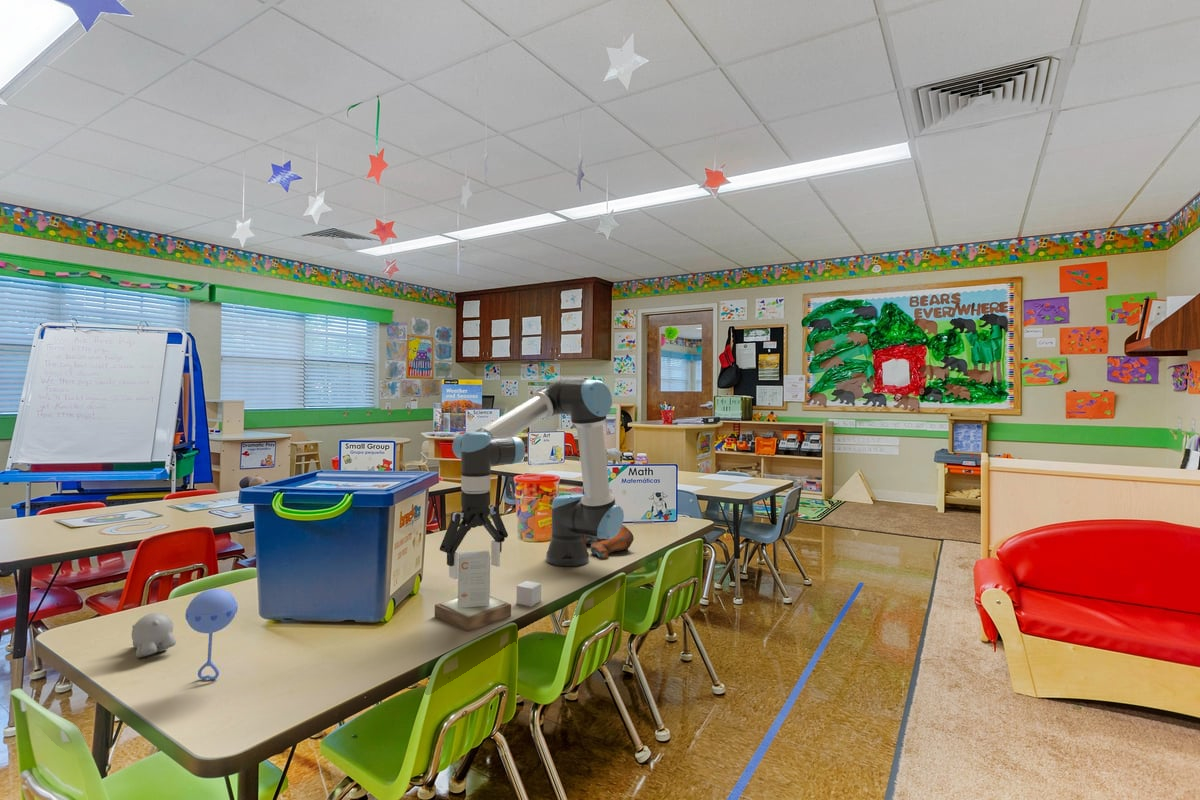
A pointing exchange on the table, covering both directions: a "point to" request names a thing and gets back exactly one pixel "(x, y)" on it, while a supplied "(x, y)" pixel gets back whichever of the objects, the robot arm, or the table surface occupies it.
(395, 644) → the table surface
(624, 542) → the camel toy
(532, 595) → the grey cube
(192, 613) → the baby rattle
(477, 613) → the stand
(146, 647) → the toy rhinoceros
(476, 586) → the small box
